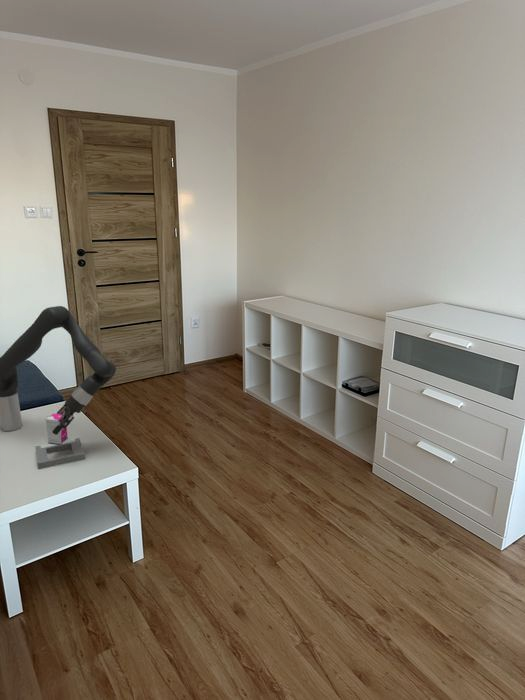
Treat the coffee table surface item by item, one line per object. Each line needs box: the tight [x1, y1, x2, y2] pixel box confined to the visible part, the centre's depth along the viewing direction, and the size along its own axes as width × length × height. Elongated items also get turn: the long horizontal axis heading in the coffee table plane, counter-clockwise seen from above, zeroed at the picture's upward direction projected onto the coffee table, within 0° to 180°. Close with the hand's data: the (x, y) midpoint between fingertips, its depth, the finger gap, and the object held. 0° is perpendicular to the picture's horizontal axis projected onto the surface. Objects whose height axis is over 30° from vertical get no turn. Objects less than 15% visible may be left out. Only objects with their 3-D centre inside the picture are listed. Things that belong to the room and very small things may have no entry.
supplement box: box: [45, 413, 69, 445], centre depth 208 cm, size 6×6×12 cm
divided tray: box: [35, 437, 86, 470], centre depth 211 cm, size 16×18×3 cm
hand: (53, 429), depth 207 cm, fingers closed on supplement box, 8 cm apart
